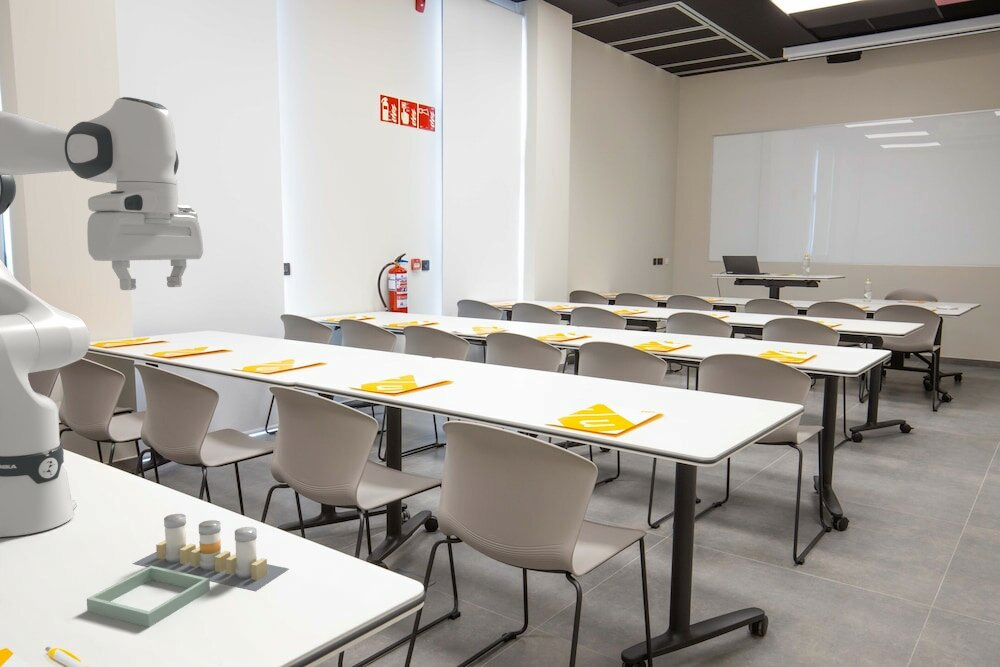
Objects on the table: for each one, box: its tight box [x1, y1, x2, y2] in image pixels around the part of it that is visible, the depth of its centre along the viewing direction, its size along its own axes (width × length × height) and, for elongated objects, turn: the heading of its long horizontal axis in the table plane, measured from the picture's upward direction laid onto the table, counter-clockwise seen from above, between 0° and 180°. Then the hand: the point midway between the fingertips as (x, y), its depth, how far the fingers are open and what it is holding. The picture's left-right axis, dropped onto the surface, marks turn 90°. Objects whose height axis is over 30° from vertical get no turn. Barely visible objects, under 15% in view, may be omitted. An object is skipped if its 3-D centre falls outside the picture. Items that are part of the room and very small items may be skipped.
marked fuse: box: [198, 519, 222, 571], centre depth 114 cm, size 3×3×7 cm
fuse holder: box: [132, 540, 290, 592], centre depth 114 cm, size 24×8×4 cm, turn 70°
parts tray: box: [86, 566, 211, 628], centre depth 103 cm, size 11×11×3 cm
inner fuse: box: [163, 513, 187, 563], centre depth 116 cm, size 3×3×7 cm
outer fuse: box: [234, 526, 258, 578], centre depth 112 cm, size 3×3×7 cm
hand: (152, 288), depth 117 cm, fingers open, 8 cm apart
